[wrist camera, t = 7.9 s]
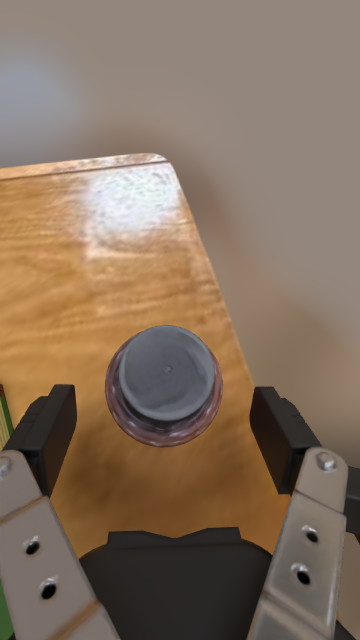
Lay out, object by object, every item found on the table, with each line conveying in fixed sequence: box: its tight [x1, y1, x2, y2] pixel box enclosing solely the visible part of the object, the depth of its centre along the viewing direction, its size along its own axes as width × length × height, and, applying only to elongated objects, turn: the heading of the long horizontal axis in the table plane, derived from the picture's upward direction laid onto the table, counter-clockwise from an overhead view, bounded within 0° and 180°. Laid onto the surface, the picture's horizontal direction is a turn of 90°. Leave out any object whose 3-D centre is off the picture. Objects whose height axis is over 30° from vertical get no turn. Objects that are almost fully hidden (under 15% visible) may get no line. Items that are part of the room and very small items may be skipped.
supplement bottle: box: [105, 325, 223, 447], centre depth 17 cm, size 6×6×11 cm
